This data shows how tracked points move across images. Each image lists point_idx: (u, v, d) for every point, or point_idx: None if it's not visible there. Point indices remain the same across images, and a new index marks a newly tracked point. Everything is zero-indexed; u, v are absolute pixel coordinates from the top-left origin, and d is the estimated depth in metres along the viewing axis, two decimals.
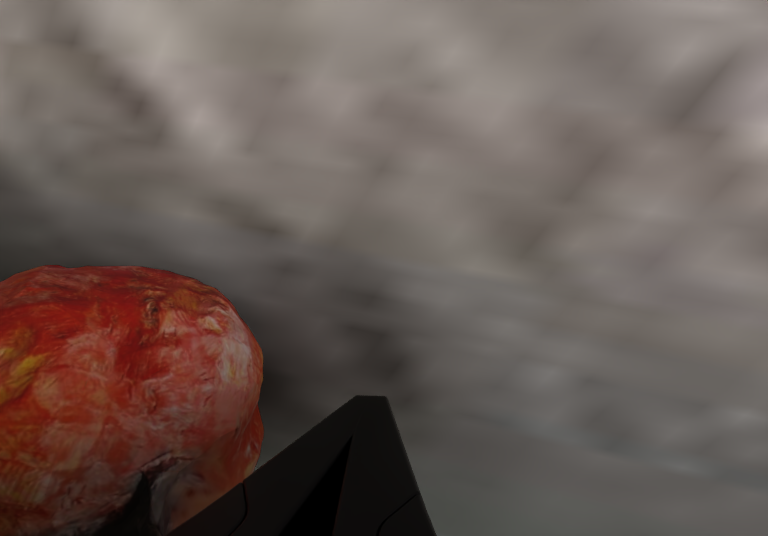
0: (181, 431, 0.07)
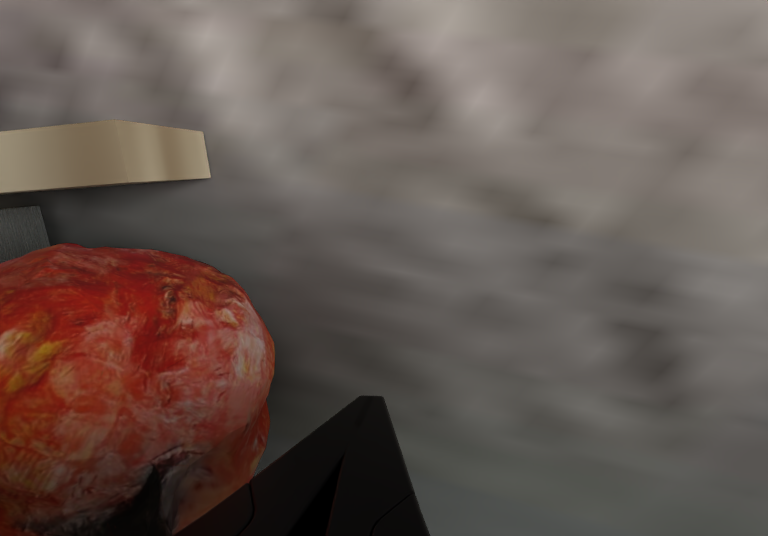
0: (193, 425, 0.07)
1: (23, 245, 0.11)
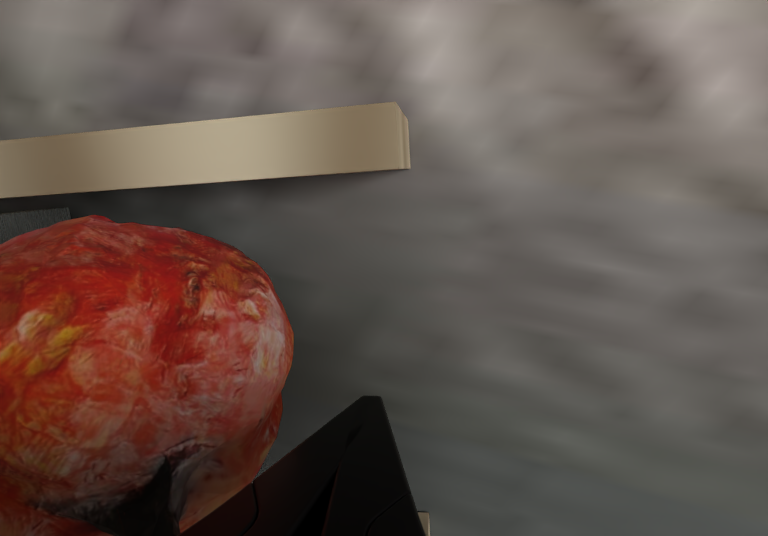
0: (207, 419, 0.07)
1: None
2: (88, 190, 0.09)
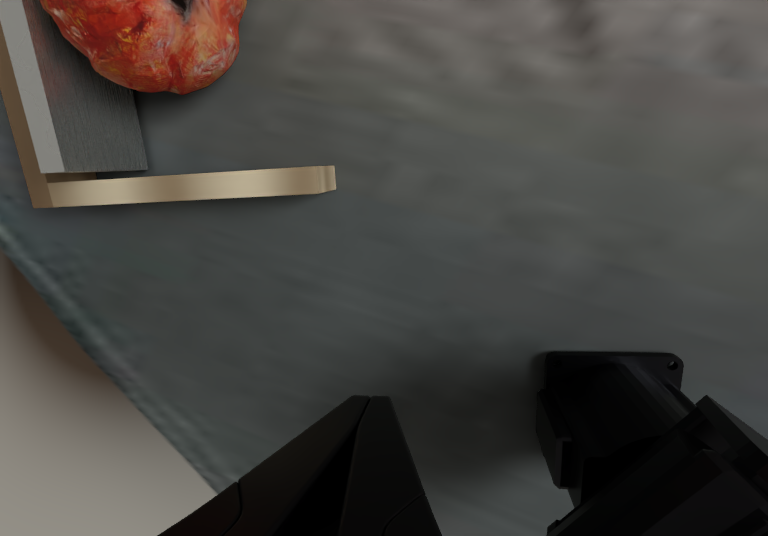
0: None
1: None
2: None
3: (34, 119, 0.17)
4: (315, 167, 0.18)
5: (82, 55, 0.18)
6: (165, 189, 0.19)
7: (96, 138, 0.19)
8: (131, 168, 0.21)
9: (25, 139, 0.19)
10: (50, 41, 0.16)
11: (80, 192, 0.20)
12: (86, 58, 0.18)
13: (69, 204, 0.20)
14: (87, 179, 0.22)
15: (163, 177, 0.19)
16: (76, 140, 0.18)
